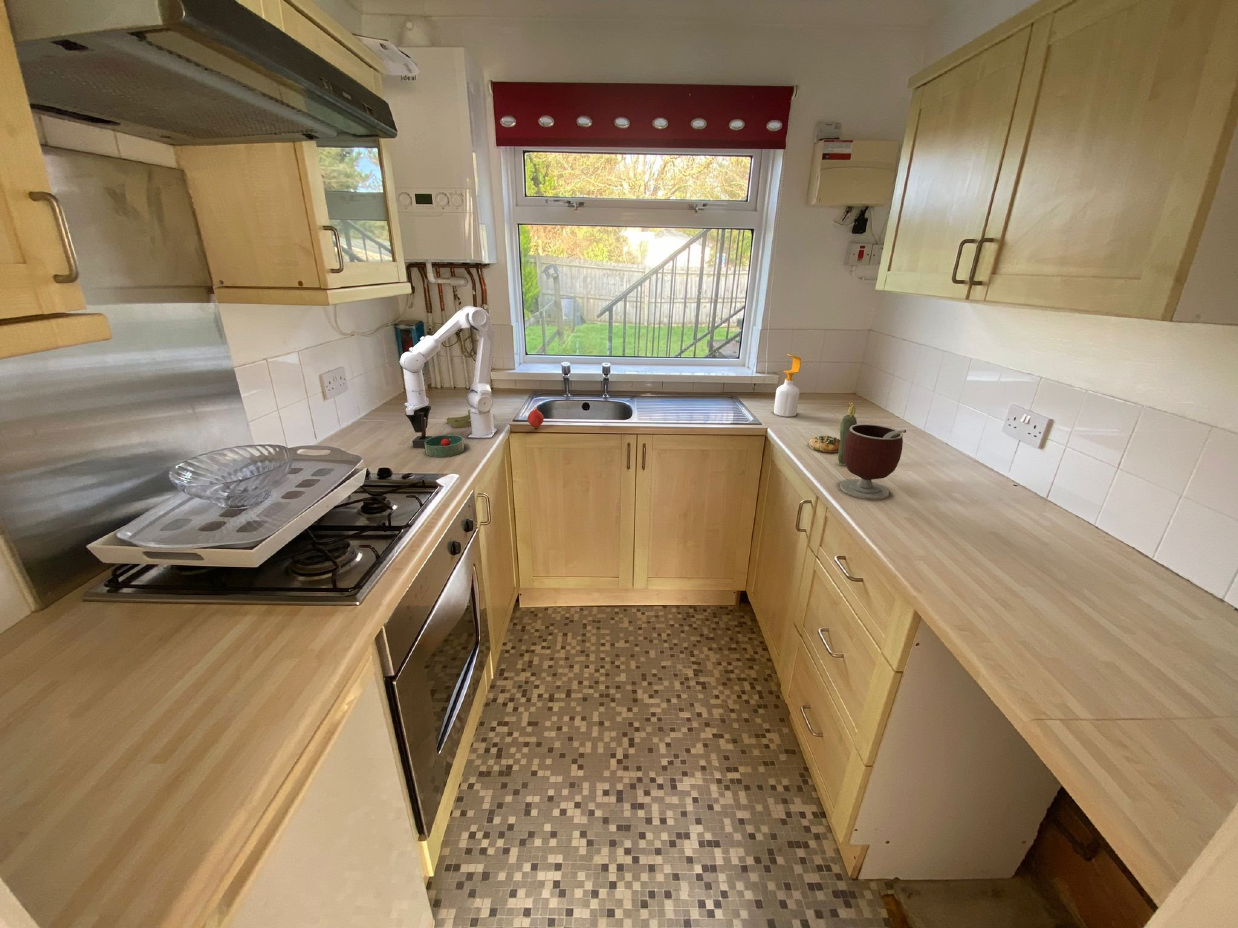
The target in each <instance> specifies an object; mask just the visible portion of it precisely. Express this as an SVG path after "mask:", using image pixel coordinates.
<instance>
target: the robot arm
mask: <svg viewBox="0 0 1238 928" xmlns="http://www.w3.org/2000/svg"><path fill="white" fill-rule="evenodd" d="M468 328H469V329H470V328H471V329H472V330H473V331H474V333H475V334H476V335H477V336H478V339H477V347H476V348H477V349H476V357H475V366H474V375H473V382H472V383H471V385H470V388H469V391H468V393H467V394H466V402H467V404H468V405H469V406H470V408H469V410H470V417H471V419H470V420H471V426H470V427H471V433H470V434H469V435H468V438H470V439H471V438H472V439H473V438H477V439H478V438H479V439H481V438H482V439H490V438H492V437H493V436H494V435H495V434H496V432H497V431H498V428H495V421H494V413H493V410H492V408H493V404H494V401H493V398H492V390H491V387H490V379H491V372H492V366H493V365H492V363H493V355H494V347H495V341H496V340H495V339H496V331H495V329H494V326H493V324H492V321H491V315H490V314H489V313H488V312H487V310H485V309H484V308H482V307H479V306H477V307H476V306H472V305H465V306H464V307H462V308H461V309H460V310H458V311H457V312H456V313H455V314H454V315H453V316H451V318H450V319H448V321H446V322H445V323H444V324H443V325H442V326H441V327H440V328H439V329H438V330H437V331H436V332H435V333H433V335H425V336H421V337H420V338H419V340H420V341H418V343H417V344H415V345H414V346H413V347H409V349H408V351H405V352H404V353H402V355H401V356H400V359H399V364H400V366H401V367H402V369H403V379H404V387H405V393H406V399H407V401H406V402H404V406H405V407H406V408H405V412H404V415H405V417H406V418H407V419H408V420H409V422H410V423H411V426H412V429H413V431H414V432H415V433H417V434H418V433H421V432H422V420H423V417H425V418H426V429H428V423H429V415H430V413H431V409H432V405H429V404H430V401H429V397H427V395H426V387H425V380H424V375H423V369H424V367H425V363H427V362H428V361H429V360H430V359H431V358H432V357H434V356H435V355H436V354H437V353H438V352H439V351H440V350H441V345H442V343H443V342H445V341H446V340H447V339H449V338H450V337H452V335H454V334H455V333H456V332H457V331H458V330H460V329H468Z"/></svg>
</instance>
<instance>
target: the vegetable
mask: <svg viewBox="0 0 1238 928" xmlns="http://www.w3.org/2000/svg"><path fill="white" fill-rule="evenodd" d="M856 410H857V409H856V407H855V405H854V403H853V402H851V401H849V402H848V410H847V414H846V415H844V416H843V417H842V418H841V421H840V425H839V426H840V427H839V439H840V445H839V452H837V453H838V454H837V460H838V464H839V465H840V466H844V465H845V463H844V457H843V452H844V444H845V440H846V437H847V434H848V432H849V430H850V427H851V426H853V425H857V424H858V421H857V418H856V416H855V414H856Z"/></svg>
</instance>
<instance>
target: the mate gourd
mask: <svg viewBox="0 0 1238 928" xmlns="http://www.w3.org/2000/svg"><path fill="white" fill-rule="evenodd" d="M906 433H907V430H906V429H896V428H892V427H890V426H885V425H882V424H881V425H880V424H874V423H873V424H872V423H857V425H853V426H851V427H850V430H849V432H848V434H847V437H846V440H845V444H844V452H843V457H844V463H845V464H844V465H845V467H846V469H847V471H849V473H850V474H853V475H854V476H857V477H858V478H859V479H858V478H857V479H856V478H850V479H844V480H842V481H841V482H840V484H839V488H840V490H841V491H842V492H844V493H845V494H847V495H849V496H852V497H855V498H859V499H862V500H863V499H864V500H873V501H874V500H875V501H877V500H878V501H879V500H884V499H886V498H888V497H889V494H890V490H889V489H888V488H887V487H886V486H884V485H882V484H880V483H878V482H874V481H872V480H881V479H885V478H887V477H889V476H890V475H891V474H892V473H894V472H895V470H896V468H897V467H898V465H899V462H900V459H901V457H902V452H903V447H904V446H903V445H904V444H903V443H904V439H903V437H904V434H906Z"/></svg>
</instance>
